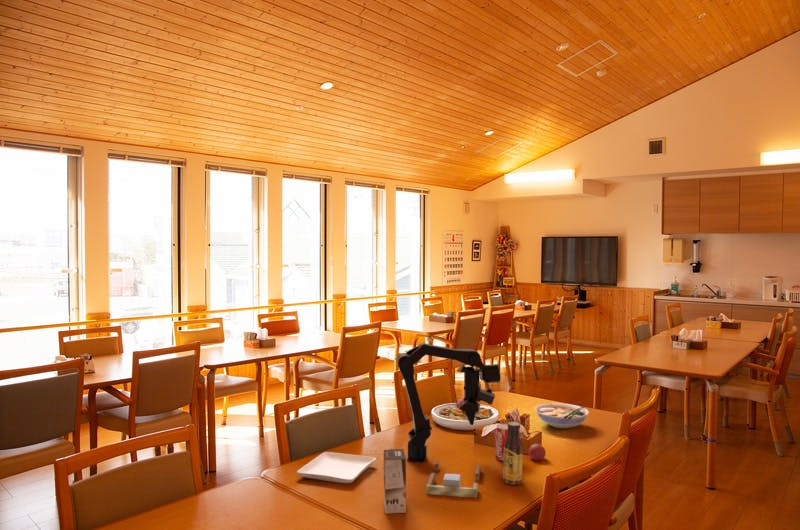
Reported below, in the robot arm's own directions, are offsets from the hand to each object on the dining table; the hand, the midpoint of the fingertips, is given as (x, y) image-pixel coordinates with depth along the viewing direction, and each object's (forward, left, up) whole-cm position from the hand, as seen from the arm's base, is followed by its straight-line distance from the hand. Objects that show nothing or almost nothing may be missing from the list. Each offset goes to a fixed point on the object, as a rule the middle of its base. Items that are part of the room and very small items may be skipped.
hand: (471, 424), depth 215 cm
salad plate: (-45, -24, -13) cm, 53 cm away
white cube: (-4, -32, -12) cm, 35 cm away
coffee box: (-20, -47, -12) cm, 53 cm away
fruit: (+23, +1, -12) cm, 26 cm away
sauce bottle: (+15, -22, -12) cm, 29 cm away
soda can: (+12, 0, -12) cm, 17 cm away
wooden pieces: (-4, -24, -12) cm, 28 cm away
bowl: (-6, +44, -13) cm, 46 cm away
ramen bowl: (+36, +44, -12) cm, 58 cm away
